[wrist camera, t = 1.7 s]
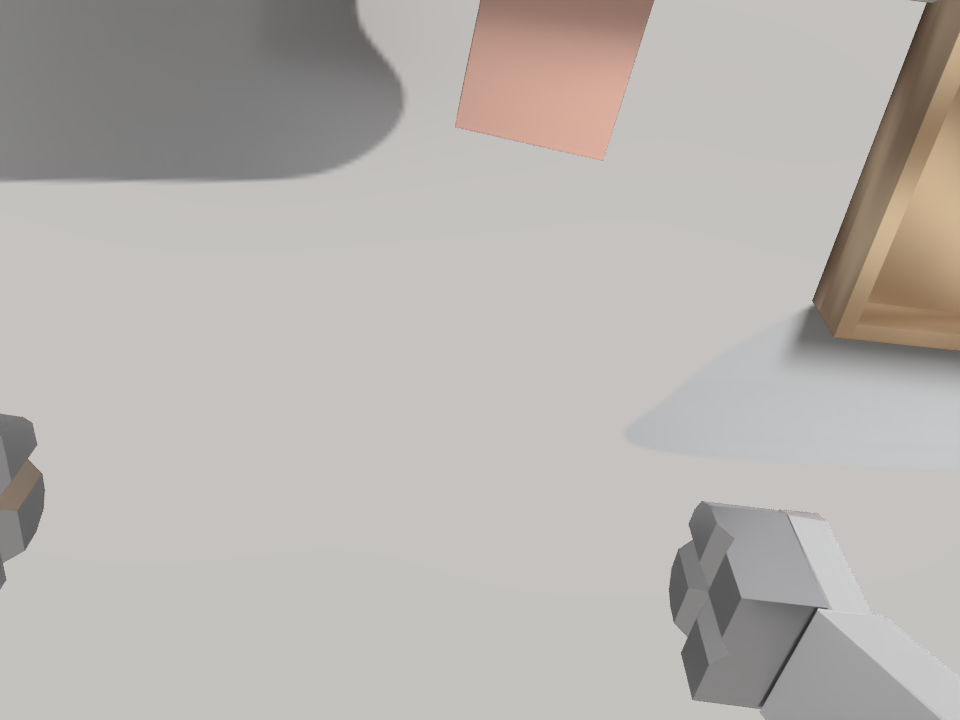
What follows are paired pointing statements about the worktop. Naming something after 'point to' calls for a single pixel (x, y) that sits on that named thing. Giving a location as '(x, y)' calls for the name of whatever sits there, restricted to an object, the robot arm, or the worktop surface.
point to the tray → (906, 207)
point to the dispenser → (926, 1)
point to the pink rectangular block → (551, 71)
